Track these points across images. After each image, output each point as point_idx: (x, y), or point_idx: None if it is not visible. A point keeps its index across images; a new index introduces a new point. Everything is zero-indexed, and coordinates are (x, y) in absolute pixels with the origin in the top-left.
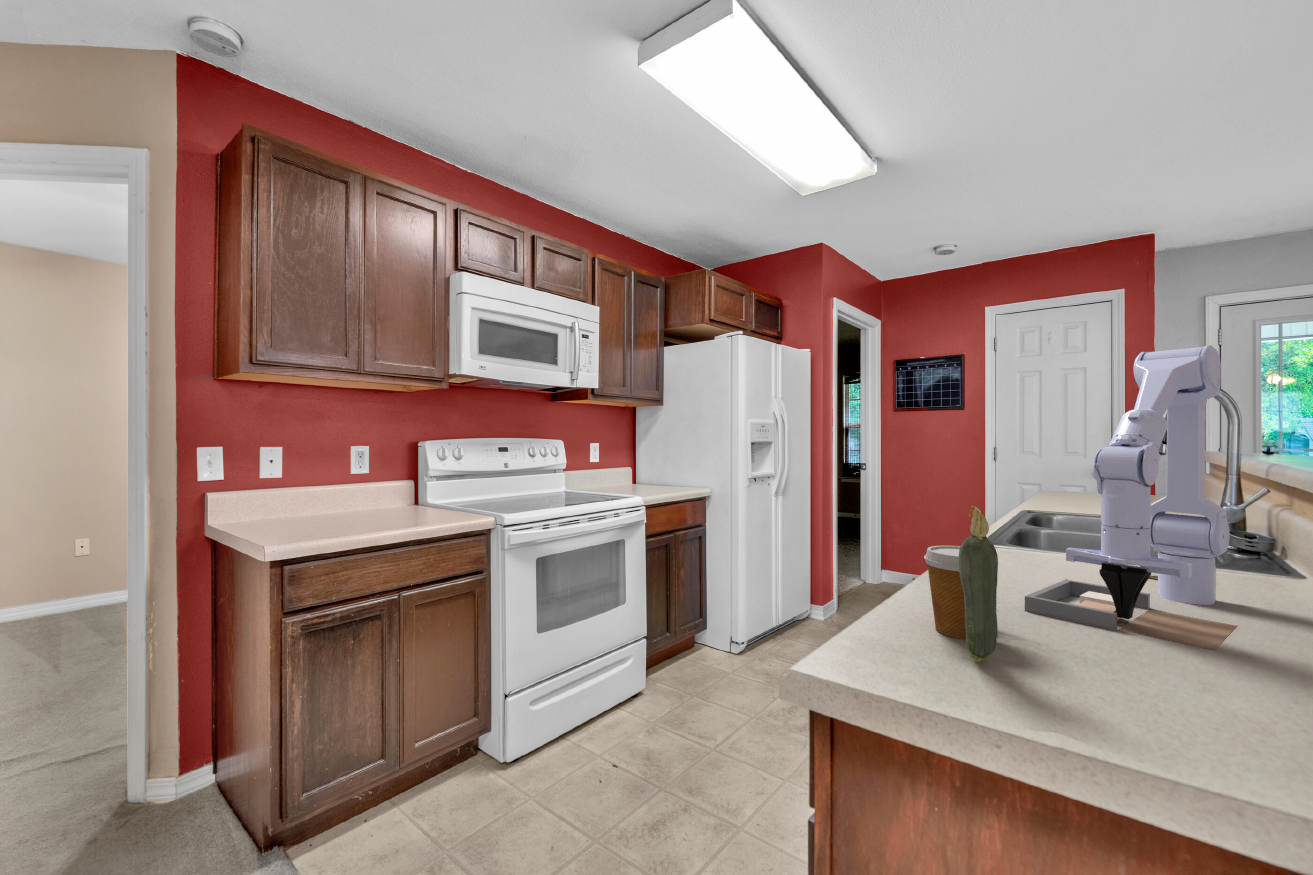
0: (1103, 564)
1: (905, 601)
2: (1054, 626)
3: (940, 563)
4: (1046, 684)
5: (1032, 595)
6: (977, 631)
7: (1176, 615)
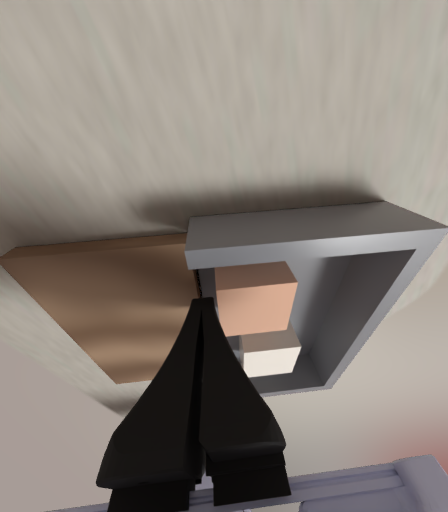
0: (282, 488)
1: None
2: (317, 193)
3: None
4: None
5: (418, 256)
6: None
7: None
